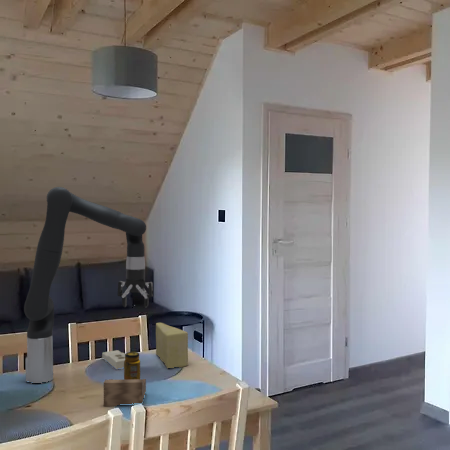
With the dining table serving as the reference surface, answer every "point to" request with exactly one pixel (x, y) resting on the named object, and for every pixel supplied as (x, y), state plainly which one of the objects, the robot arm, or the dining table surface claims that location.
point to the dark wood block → (124, 391)
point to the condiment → (131, 366)
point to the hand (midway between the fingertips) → (135, 307)
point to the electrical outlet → (114, 358)
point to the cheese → (171, 345)
